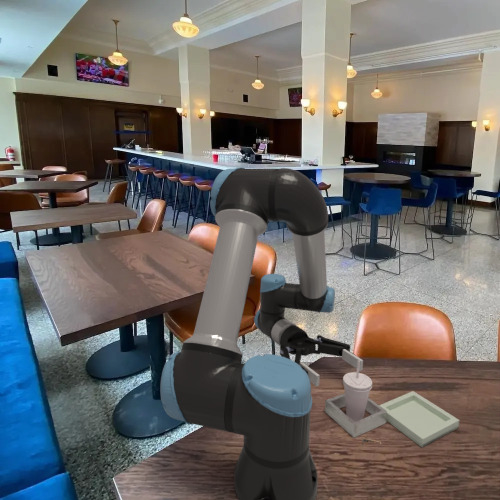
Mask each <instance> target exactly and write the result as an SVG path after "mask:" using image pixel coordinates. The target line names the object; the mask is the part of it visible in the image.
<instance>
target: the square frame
mask: <svg viewBox="0 0 500 500" xmlns="http://www.w3.org/2000/svg"><path fill="white" fill-rule="evenodd" d="M324 404H325V405H324V413H325V414H327V415H328V416H329V417H330V418H331V419H333V420H334V422H335V423H337V424H338V425H339V426H340V427H341V428H342V429H344V430H345V432H347V433H348V434H349V435H350V436H351V437H352V438H357V437H359V436H361V435H363V434H365V433H368V432H369V431H372V430H375V429H376V428H378V427H380V426H383V425H385V424H386V423H387V421H386V419H387V411H386V410H385V409H383V408H382V407H381V406H379V404H377V403H376V402H375V401H374V400H372V398H370V397H368V400H367V405H366V409H365V412H368V413H369V414H370V415H368V416H366V417H364V418H363V419H361V420H359V421H357V422H354V421H353V420H352V419H351V418H349V417H348V416H347V415H346V412H344V411H342V410H341V409H342V408H344V407H345V408H346V402H345V392H344V393H341V394H338V395H336V396H333V397H330V398H328V399H326V400H325V401H324Z"/></svg>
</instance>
